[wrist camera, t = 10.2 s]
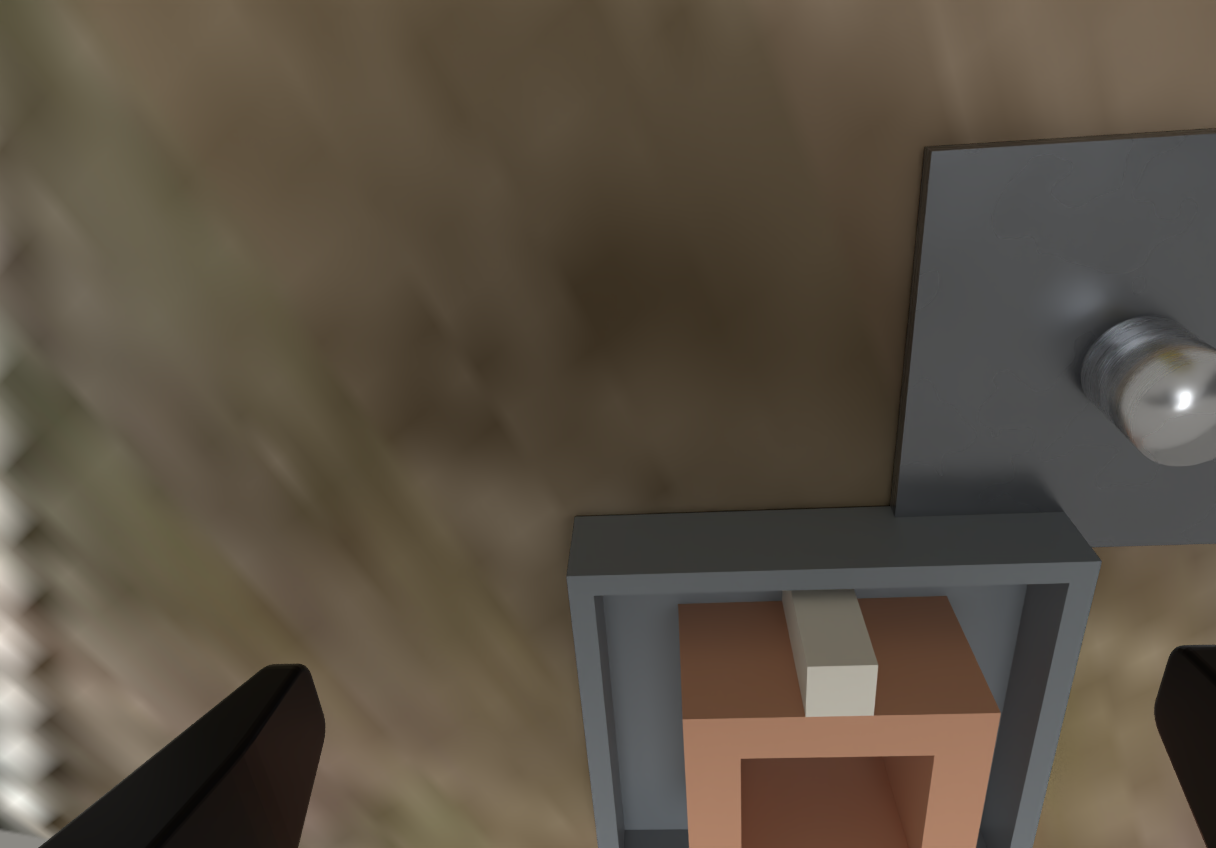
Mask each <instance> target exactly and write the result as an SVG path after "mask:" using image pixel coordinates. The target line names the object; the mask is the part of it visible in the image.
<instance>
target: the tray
mask: <svg viewBox="0 0 1216 848" xmlns="http://www.w3.org/2000/svg"><path fill="white" fill-rule="evenodd" d="M1101 562H1102V561H1101V560H1100V558H1099V557H1098V556H1097V554H1096V553H1095V552H1094V550H1093V549H1092V548H1091V546H1090V545H1089V544H1088V542H1087V541H1086V540H1085V538H1084V537H1083V536H1082V534H1081V533H1080V532H1079V530H1078V529H1077V528H1076V526H1075V525H1074V524H1073V522H1072V521H1071V520H1070V518H1069V517H1068V516H1067V514H1066V513H1065V512H1044V513H1013V514H982V515H952V516H921V517H895V516H894V514H893V512H892V509H891V507H890V506H883V507H853V508H823V509H793V510H762V511H732V512H702V513H672V514H642V515H612V516H582V517H575V520H574V527H573V534H572V541H571V548H570V555H569V562H568V569H567V576H566V577H567V585H568V594H569V602H570V611H571V619H572V628H573V637H574V645H575V654H576V662H577V671H578V679H579V688H580V696H581V705H582V713H583V722H584V730H585V739H586V747H587V756H588V765H589V773H590V782H591V790H592V799H593V807H594V816H595V824H596V833H597V841H598V848H689V836H688V816H687V797H686V777H685V758H684V738H683V719H682V693H681V666H680V640H679V614H678V604H695V603H728V602H762V601H782V591H791V590H829V589H854V591H855V594H856V597H857V599H861V598H894V597H927V596H947V598H948V600H949V602H950V604H951V606H952V608H953V611H954V613H955V615H956V617H957V619H958V621H959V624H960V626H961V628H962V630H963V632H964V634H965V637H966V639H967V641H968V643H969V645H970V647H971V650H972V652H973V654H974V656H975V658H976V660H977V662H978V665H979V667H980V669H981V671H982V673H983V675H984V678H985V680H986V682H987V684H988V686H989V688H990V691H991V693H992V695H993V697H994V699H995V701H996V703H997V706H998V708H999V710H1000V712H1001V715H1000V721H999V726H998V732H997V737H996V742H995V748H994V753H993V758H992V764H991V769H990V775H989V780H988V785H987V791H986V796H985V802H984V807H983V812H982V818H981V823H980V828H979V834H978V839H977V845H976V848H1032V847H1033V843H1034V839H1035V835H1036V831H1037V826H1038V822H1039V818H1040V814H1041V810H1042V806H1043V802H1044V798H1045V793H1046V789H1047V785H1048V781H1049V777H1050V773H1051V769H1052V764H1053V760H1054V756H1055V752H1056V748H1057V744H1058V740H1059V736H1060V731H1061V727H1062V723H1063V719H1064V715H1065V711H1066V707H1067V703H1068V698H1069V694H1070V690H1071V686H1072V682H1073V678H1074V674H1075V669H1076V665H1077V661H1078V657H1079V653H1080V649H1081V645H1082V641H1083V636H1084V632H1085V628H1086V624H1087V620H1088V616H1089V612H1090V608H1091V603H1092V599H1093V595H1094V591H1095V587H1096V583H1097V579H1098V574H1099V570H1100V566H1101Z"/></svg>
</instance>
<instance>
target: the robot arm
mask: <svg viewBox="0 0 1216 848" xmlns="http://www.w3.org/2000/svg"><path fill="white" fill-rule="evenodd" d="M1154 715H1155V721H1156V726H1157V729H1158V731H1159V734H1160V736H1161V739H1162V741H1163V744H1164V746H1165V748H1166V751H1167V753H1168V756H1169V758H1170V760H1171V763H1172V765H1173V768H1174V770H1175V772H1176V775H1177V777H1178V780H1179V782H1180V785H1181V787H1182V789H1183V792H1184V794H1185V797H1186V799H1187V801H1188V804H1189V806H1190V809H1191V811H1192V813H1193V816H1194V818H1195V821H1196V823H1197V825H1198V828H1199V830H1200V833H1201V835H1202V838H1203V840H1204V842H1205V845H1206V847H1207V848H1216V645H1183V646H1179V647H1176V648H1175V649H1174V650H1173V651H1172V652H1171V654H1170V656H1169V659H1168V662H1167V665H1166V668H1165V672H1164V675H1163V678H1162V681H1161V685H1160V688H1159V691H1158V694H1157V698H1156V701H1155V707H1154ZM324 738H325V719H324V714H323V711H322V708H321V705H320V701H319V698H318V695H317V692H316V688H315V685H314V682H313V679H312V676H311V673H310V671H309V669H308V668H307V667H306V666H305V665H302V664H273V665H268V666H266V667H264V668H263V669H261V670H260V671H259V672H257V673H256V674H255V675H254V676H252V677H251V678H250V679H249V680H247V681H246V682H245V683H244V684H242V685H241V686H240V687H239V688H237V689H236V690H235V691H234V692H232V693H231V694H230V695H229V696H227V697H226V698H225V699H224V700H222V701H221V702H220V703H219V704H217V705H216V706H215V707H214V708H212V709H211V710H210V711H209V712H207V713H206V714H205V715H204V716H202V717H201V718H200V719H199V720H197V721H196V722H195V723H194V724H192V725H191V726H190V727H189V728H187V729H186V730H185V731H184V732H182V733H181V734H180V735H179V736H177V737H176V738H175V739H174V740H172V741H171V742H170V743H169V744H167V745H166V746H165V747H164V748H162V749H161V750H160V751H159V752H157V753H156V754H155V755H154V756H152V757H151V758H150V759H149V760H147V761H146V762H145V763H144V764H142V765H141V766H140V767H139V768H137V769H136V770H135V771H134V772H132V773H131V774H130V775H129V776H128V777H126V778H125V779H124V780H123V781H121V782H120V783H119V784H118V785H116V786H115V787H114V788H113V789H111V790H110V791H109V792H108V793H106V794H105V795H104V796H103V797H101V798H100V799H99V800H98V801H96V802H95V803H94V804H93V805H91V806H90V807H89V808H88V809H86V810H85V811H84V812H83V813H81V814H80V815H79V816H78V817H76V818H75V819H74V820H73V821H71V822H70V823H69V824H68V825H66V826H65V827H64V828H63V829H61V830H60V831H59V832H58V833H56V834H55V835H54V836H53V837H51V838H50V839H49V840H48V841H46V842H45V843H44V844H43V845H41V846H40V847H39V848H298V846H299V842H300V838H301V834H302V829H303V825H304V821H305V817H306V813H307V809H308V805H309V801H310V796H311V792H312V788H313V784H314V780H315V776H316V772H317V768H318V763H319V759H320V755H321V751H322V747H323V743H324Z"/></svg>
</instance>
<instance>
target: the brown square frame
mask: <svg viewBox="0 0 1216 848" xmlns="http://www.w3.org/2000/svg"><path fill="white" fill-rule="evenodd" d="M678 614H679V640H680V666H681V693H682V719H683V738H684V758H685V777H686V797H687V816H688V836H689V848H976V845H977V839H978V834H979V828H980V823H981V818H982V812H983V807H984V802H985V796H986V791H987V785H988V780H989V775H990V769H991V764H992V758H993V753H994V748H995V742H996V737H997V732H998V726H999V721H1000V715H1001V712H1000V710H999V708H998V706H997V703H996V701H995V699H994V697H993V695H992V693H991V691H990V688H989V686H988V684H987V682H986V680H985V678H984V675H983V673H982V671H981V669H980V667H979V665H978V662H977V660H976V658H975V656H974V654H973V652H972V650H971V647H970V645H969V643H968V641H967V639H966V637H965V634H964V632H963V630H962V628H961V626H960V624H959V621H958V619H957V617H956V615H955V613H954V611H953V608H952V606H951V604H950V602H949V600H948V598H947V596H927V597H894V598H861V599H857V597H856V594H855V591H854V589H829V590H791V591H782V601H762V602H728V603H695V604H678Z"/></svg>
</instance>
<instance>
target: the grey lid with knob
mask: <svg viewBox="0 0 1216 848" xmlns="http://www.w3.org/2000/svg"><path fill="white" fill-rule="evenodd" d="M890 507H891V509H892V512H893V514H894V516H895V517H921V516H952V515H982V514H1013V513H1044V512H1065V513H1066V514H1067V516H1068V517H1069V518H1070V520H1071V521H1072V522H1073V524H1074V525H1075V526H1076V528H1077V529H1078V530H1079V532H1080V533H1081V534H1082V536H1083V537H1084V538H1085V540H1086V541H1087V542H1088V544H1089V545H1090V546H1091V547H1114V546H1148V545H1182V544H1216V128H1213V129H1197V130H1182V131H1166V132H1150V133H1134V134H1119V135H1103V136H1087V137H1071V138H1056V139H1040V140H1024V141H1008V142H993V143H977V144H961V145H945V146H929V147H925V152H924V162H923V172H922V182H921V193H920V203H919V213H918V224H917V234H916V244H915V255H914V265H913V275H912V286H911V296H910V306H909V317H908V327H907V337H906V347H905V358H904V368H903V378H902V389H901V399H900V409H899V420H898V430H897V440H896V451H895V461H894V471H893V482H892V492H891V502H890Z"/></svg>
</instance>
